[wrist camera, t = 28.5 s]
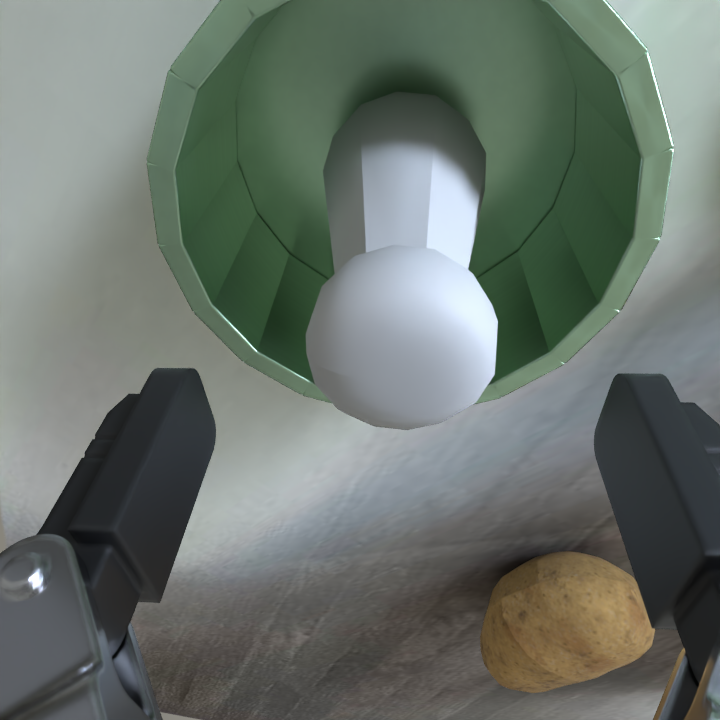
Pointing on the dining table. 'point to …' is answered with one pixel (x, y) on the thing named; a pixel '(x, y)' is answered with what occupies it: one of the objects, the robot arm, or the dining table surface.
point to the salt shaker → (403, 267)
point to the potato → (563, 622)
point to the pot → (464, 94)
